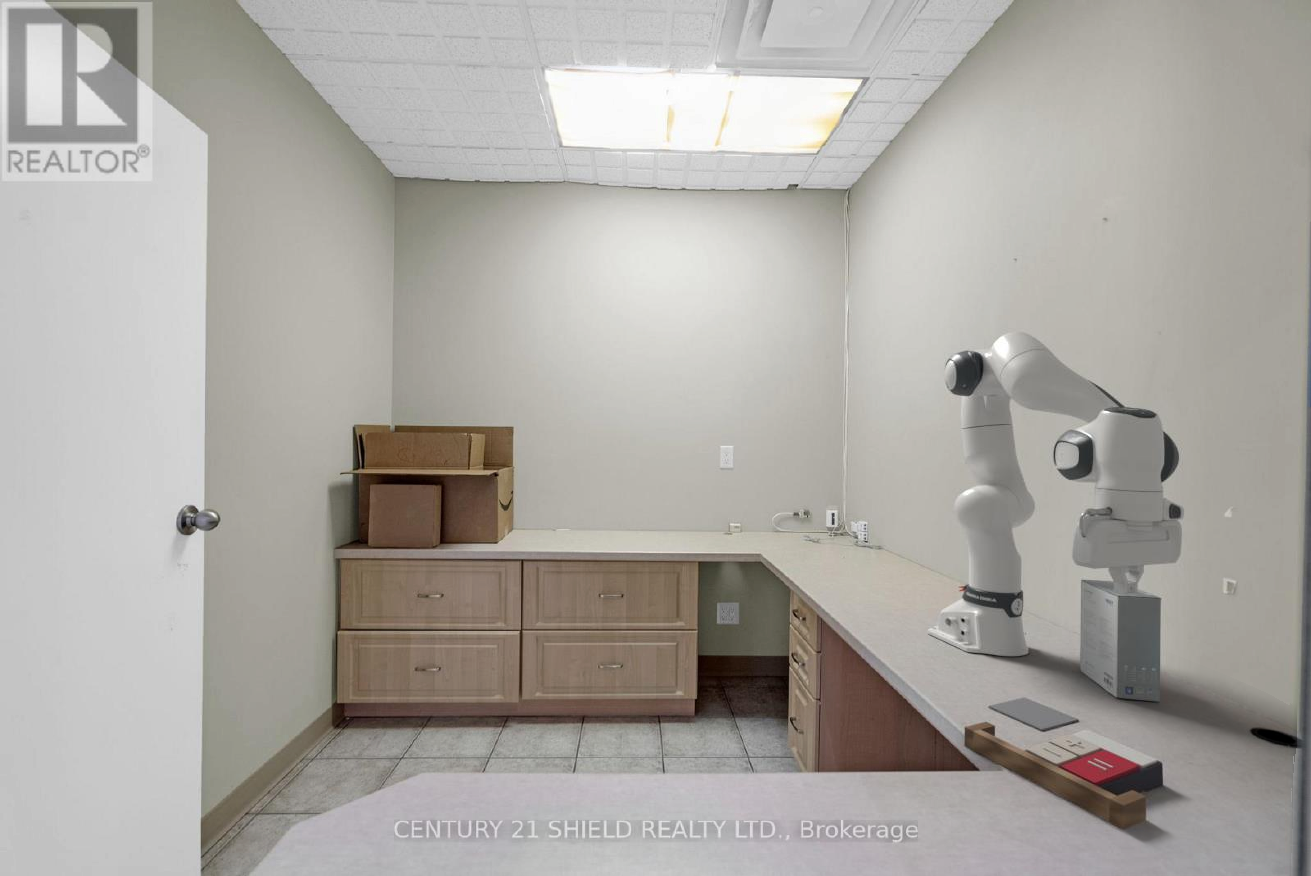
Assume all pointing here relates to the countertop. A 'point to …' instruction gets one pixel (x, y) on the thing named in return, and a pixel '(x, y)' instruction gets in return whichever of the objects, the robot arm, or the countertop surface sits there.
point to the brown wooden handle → (1057, 778)
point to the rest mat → (1033, 714)
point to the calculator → (1102, 762)
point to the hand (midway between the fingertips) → (1125, 592)
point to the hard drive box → (1121, 640)
